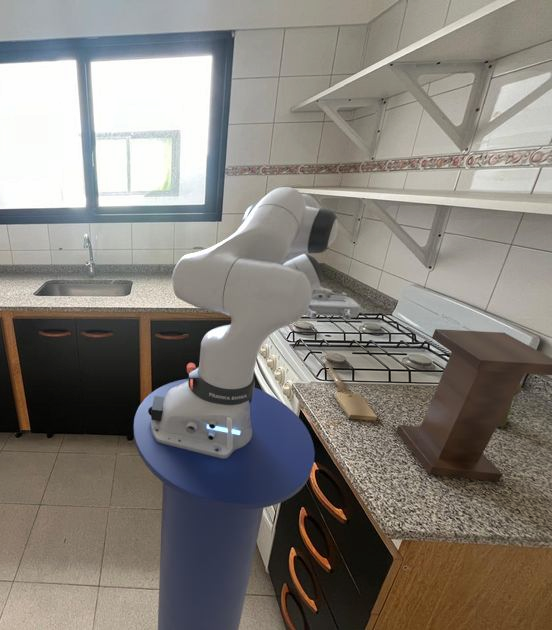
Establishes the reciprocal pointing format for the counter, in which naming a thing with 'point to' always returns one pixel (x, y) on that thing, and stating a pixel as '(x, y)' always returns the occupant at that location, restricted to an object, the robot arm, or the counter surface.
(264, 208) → the robot arm
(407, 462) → the counter surface
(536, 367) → the stand
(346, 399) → the spatula
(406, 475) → the counter surface
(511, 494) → the counter surface
